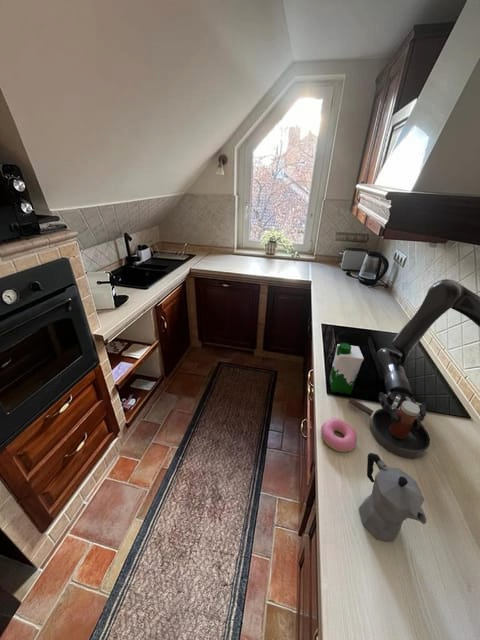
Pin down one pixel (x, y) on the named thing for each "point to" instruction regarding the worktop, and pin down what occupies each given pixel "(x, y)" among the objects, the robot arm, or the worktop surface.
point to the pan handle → (360, 406)
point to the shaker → (404, 419)
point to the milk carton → (345, 368)
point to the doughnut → (337, 442)
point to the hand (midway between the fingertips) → (407, 424)
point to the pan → (403, 448)
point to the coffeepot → (390, 501)
